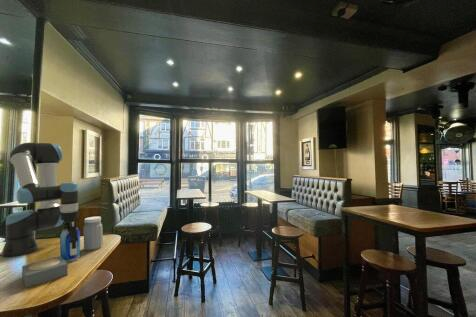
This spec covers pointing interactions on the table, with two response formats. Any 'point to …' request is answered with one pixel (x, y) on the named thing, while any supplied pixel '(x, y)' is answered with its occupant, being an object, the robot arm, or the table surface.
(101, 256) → the table surface
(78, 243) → the beer can
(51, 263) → the riser
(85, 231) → the jar
